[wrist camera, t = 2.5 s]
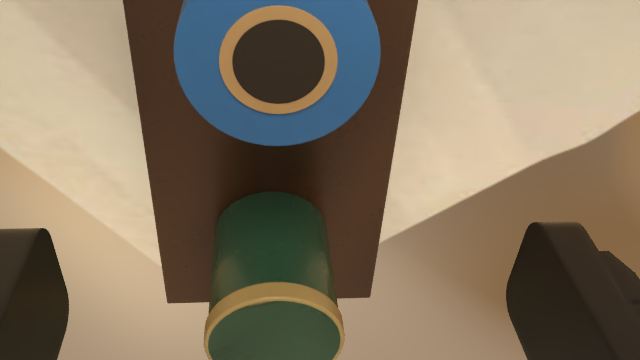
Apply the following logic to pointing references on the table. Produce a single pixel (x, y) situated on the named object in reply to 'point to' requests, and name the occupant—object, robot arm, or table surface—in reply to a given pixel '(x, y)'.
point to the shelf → (263, 157)
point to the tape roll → (276, 65)
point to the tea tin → (272, 283)
